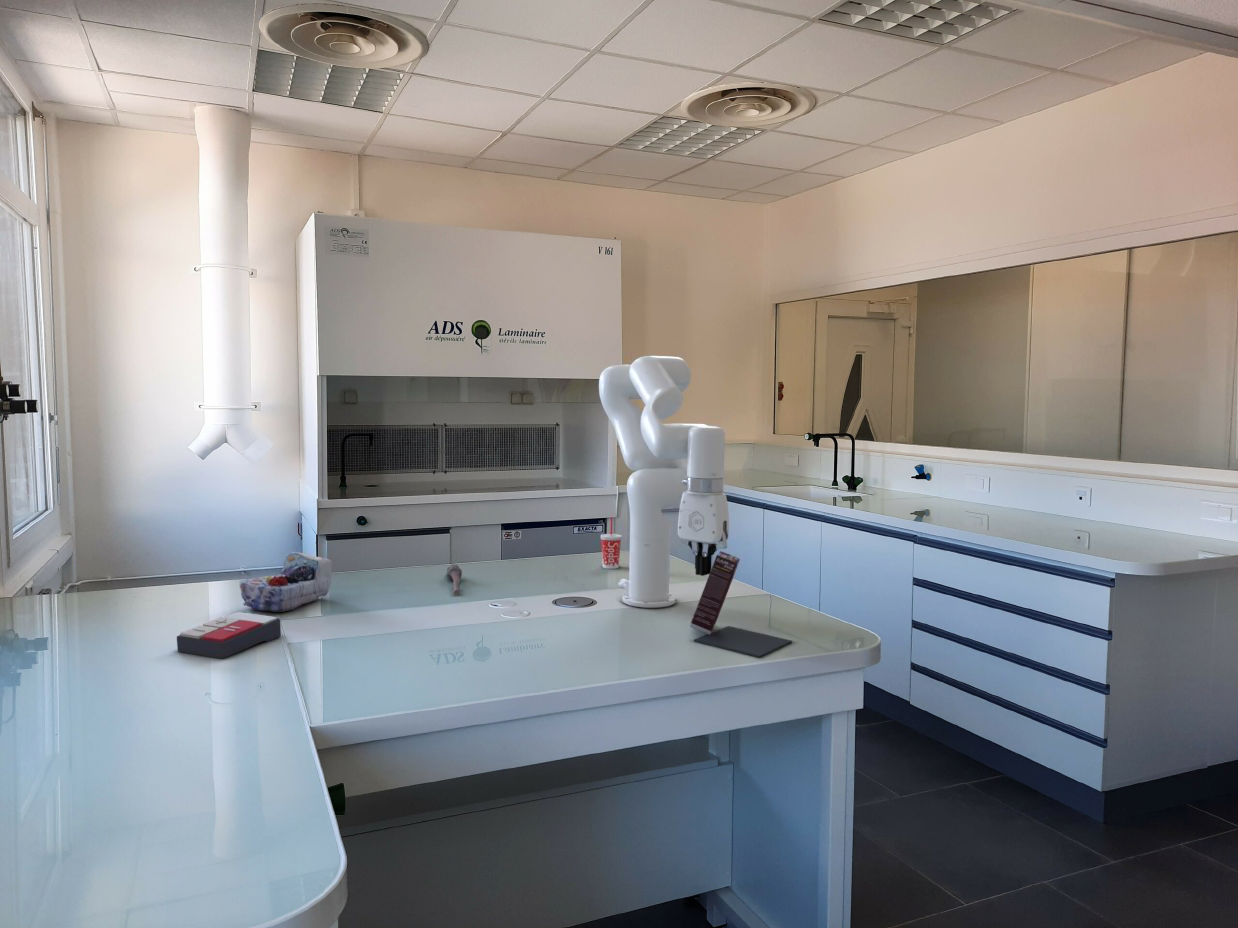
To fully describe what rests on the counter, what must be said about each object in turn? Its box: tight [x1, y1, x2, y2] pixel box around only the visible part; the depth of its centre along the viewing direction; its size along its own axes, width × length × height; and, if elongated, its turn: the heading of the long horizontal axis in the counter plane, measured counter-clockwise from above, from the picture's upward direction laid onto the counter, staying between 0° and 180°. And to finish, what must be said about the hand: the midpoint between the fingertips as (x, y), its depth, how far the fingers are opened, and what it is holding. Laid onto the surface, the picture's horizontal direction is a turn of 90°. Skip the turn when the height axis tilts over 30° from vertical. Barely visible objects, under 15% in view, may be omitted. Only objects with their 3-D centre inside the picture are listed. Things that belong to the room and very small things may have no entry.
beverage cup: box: [600, 517, 623, 570], centre depth 234 cm, size 6×6×14 cm
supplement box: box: [689, 550, 741, 635], centre depth 173 cm, size 9×5×16 cm, turn 168°
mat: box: [693, 625, 793, 658], centre depth 168 cm, size 15×13×1 cm
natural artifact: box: [445, 564, 463, 596], centre depth 211 cm, size 4×23×4 cm
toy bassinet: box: [239, 551, 333, 613], centre depth 188 cm, size 13×11×20 cm
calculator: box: [176, 611, 282, 660], centre depth 160 cm, size 11×4×15 cm
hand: (702, 574), depth 173 cm, fingers closed
